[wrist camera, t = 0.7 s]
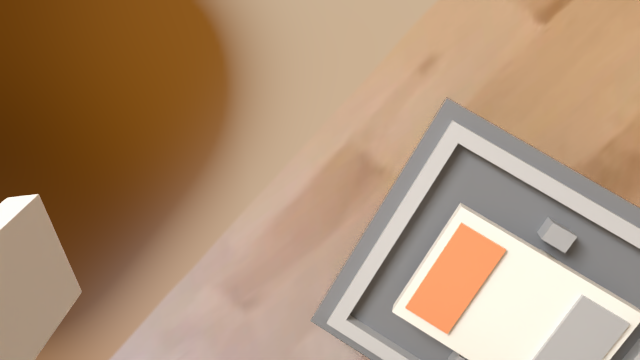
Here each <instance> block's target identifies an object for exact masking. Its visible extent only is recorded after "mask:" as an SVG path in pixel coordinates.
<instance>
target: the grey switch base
mask: <svg viewBox="0 0 640 360" xmlns="http://www.w3.org/2000/svg"><path fill="white" fill-rule="evenodd" d="M460 203H462V204H464V205H465V206H467V207H469V208H471V209H472V210H474V211H476V212H477V213H479V214H481V215H482V216H484V217H486V218H487V219H489V220H491V221H492V222H494V223H496V224H497V225H499V226H501V227H503V228H504V229H506V230H508V231H509V232H511V233H513V234H514V235H516V236H518V237H519V238H521V239H523V240H524V241H526V242H528V243H529V244H531V245H533V246H535V247H536V248H538V249H541V250H544V251H545V252H547V253H549V254H550V255H552V256H553V257H554V258H555V259H556V260H558V261H560V262H561V263H563V264H565V265H567V266H568V267H570V268H572V269H573V270H575V271H577V272H578V273H580V274H582V275H583V276H585V277H587V278H588V279H590V280H592V281H594V282H595V283H597V284H599V285H600V286H602V287H604V288H605V289H607V290H609V291H610V292H612V293H614V294H615V295H617V296H619V297H620V298H622V299H624V300H626V301H627V302H629V303H631V304H632V305H634V306H636V307H637V308H638V309H639V310H640V208H639V207H637V206H636V205H634V204H632V203H630V202H629V201H627V200H625V199H623V198H622V197H620V196H618V195H616V194H615V193H613V192H611V191H609V190H608V189H606V188H604V187H602V186H601V185H599V184H597V183H596V182H594V181H592V180H590V179H589V178H587V177H585V176H583V175H582V174H580V173H578V172H576V171H575V170H573V169H571V168H569V167H568V166H566V165H564V164H562V163H561V162H559V161H557V160H555V159H554V158H552V157H550V156H548V155H547V154H545V153H543V152H541V151H540V150H538V149H536V148H534V147H533V146H531V145H529V144H527V143H526V142H524V141H522V140H520V139H519V138H517V137H515V136H513V135H512V134H510V133H508V132H507V131H505V130H503V129H501V128H500V127H498V126H496V125H494V124H493V123H491V122H489V121H487V120H486V119H484V118H482V117H480V116H479V115H477V114H475V113H473V112H472V111H470V110H468V109H466V108H465V107H463V106H461V105H459V104H458V103H456V102H454V101H452V100H451V99H449V98H447V97H446V99H445V100H444V102H443V103H442V105H441V107H440V108H439V110H438V112H437V113H436V115H435V117H434V118H433V120H432V121H431V123H430V125H429V126H428V128H427V130H426V131H425V133H424V134H423V136H422V138H421V139H420V141H419V143H418V144H417V146H416V148H415V149H414V151H413V152H412V154H411V156H410V157H409V159H408V161H407V162H406V164H405V165H404V167H403V169H402V170H401V172H400V174H399V175H398V177H397V179H396V180H395V182H394V183H393V185H392V187H391V188H390V190H389V192H388V193H387V195H386V197H385V198H384V200H383V201H382V203H381V205H380V206H379V208H378V210H377V211H376V213H375V214H374V216H373V218H372V219H371V221H370V223H369V224H368V226H367V228H366V229H365V231H364V232H363V234H362V236H361V237H360V239H359V241H358V242H357V244H356V245H355V247H354V249H353V250H352V252H351V254H350V255H349V257H348V259H347V260H346V262H345V263H344V265H343V267H342V268H341V270H340V272H339V273H338V275H337V277H336V278H335V280H334V281H333V283H332V285H331V286H330V288H329V290H328V291H327V293H326V294H325V296H324V298H323V299H322V301H321V303H320V305H319V306H318V308H317V310H316V312H315V314H314V315H313V317H312V319H311V322H313V323H314V324H316V325H318V326H319V327H321V328H322V329H324V330H325V331H327V332H329V333H330V334H332V335H333V336H335V337H336V338H338V339H340V340H341V341H343V342H344V343H346V344H347V345H349V346H351V347H352V348H354V349H355V350H357V351H358V352H360V353H361V354H363V355H365V356H366V357H368V358H369V359H371V360H468V359H467V358H465V357H463V356H462V355H460V354H459V353H457V352H455V351H454V350H452V349H451V348H449V347H447V346H446V345H444V344H443V343H441V342H439V341H438V340H436V339H435V338H433V337H431V336H430V335H428V334H427V333H425V332H423V331H422V330H420V329H419V328H417V327H415V326H414V325H412V324H411V323H409V322H407V321H406V320H404V319H403V318H401V317H399V316H398V315H396V314H395V313H393V312H392V309H393V305H394V303H395V302H396V300H397V299H398V297H399V296H400V294H401V292H402V291H403V289H404V288H405V286H406V285H407V283H408V282H409V280H410V279H411V277H412V276H413V274H414V273H415V271H416V270H417V268H418V267H419V265H420V263H421V262H422V260H423V259H424V257H425V256H426V254H427V253H428V251H429V250H430V248H431V247H432V245H433V244H434V242H435V241H436V239H437V238H438V236H439V234H440V233H441V231H442V230H443V228H444V227H445V225H446V224H447V222H448V221H449V219H450V218H451V216H452V215H453V213H454V212H455V210H456V209H457V207H458V205H459V204H460ZM610 360H640V323H639V324H638V325H637V327H636V328H635V329H634V330H633V332H632V333H631V334H630V335H629V337H628V338H627V339H626V340H625V342H624V343H623V344H622V345H621V347H620V348H619V349H618V350H617V351H616V353H615V354H614V355H613V356H612V358H611V359H610Z"/></svg>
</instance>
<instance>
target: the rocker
mask: <svg viewBox="0 0 640 360" xmlns="http://www.w3.org/2000/svg"><path fill="white" fill-rule="evenodd" d="M392 312H393V313H395V314H396V315H398V316H399V317H401V318H403V319H404V320H406V321H407V322H409V323H411V324H412V325H414V326H415V327H417V328H419V329H420V330H422V331H423V332H425V333H427V334H428V335H430V336H431V337H433V338H435V339H436V340H438V341H439V342H441V343H443V344H444V345H446V346H447V347H449V348H451V349H452V350H454V351H455V352H457V353H459V354H460V355H462V356H463V357H465V358H467V359H468V360H610V359H611V358H612V356H613V355H614V354H615V353H616V351H617V350H618V349H619V348H620V347H621V345H622V344H623V343H624V342H625V340H626V339H627V338H628V337H629V335H630V334H631V333H632V332H633V330H634V329H635V328H636V327H637V325H638V324H639V323H640V310H639V309H638V308H637V307H636V306H634V305H632V304H631V303H629V302H627V301H626V300H624V299H622V298H620V297H619V296H617V295H615V294H614V293H612V292H610V291H609V290H607V289H605V288H604V287H602V286H600V285H599V284H597V283H595V282H594V281H592V280H590V279H588V278H587V277H585V276H583V275H582V274H580V273H578V272H577V271H575V270H573V269H572V268H570V267H568V266H567V265H565V264H563V263H561V262H560V261H558V260H556V259H555V258H554V257H553V256H552V255H550V254H549V253H547V252H545V251H544V250H541V249H538V248H536V247H535V246H533V245H531V244H529V243H528V242H526V241H524V240H523V239H521V238H519V237H518V236H516V235H514V234H513V233H511V232H509V231H508V230H506V229H504V228H503V227H501V226H499V225H497V224H496V223H494V222H492V221H491V220H489V219H487V218H486V217H484V216H482V215H481V214H479V213H477V212H476V211H474V210H472V209H471V208H469V207H467V206H465V205H464V204H462V203H460V204H459V205H458V207H457V209H456V210H455V212H454V213H453V215H452V216H451V218H450V219H449V221H448V222H447V224H446V225H445V227H444V228H443V230H442V231H441V233H440V234H439V236H438V238H437V239H436V241H435V242H434V244H433V245H432V247H431V248H430V250H429V251H428V253H427V254H426V256H425V257H424V259H423V260H422V262H421V263H420V265H419V267H418V268H417V270H416V271H415V273H414V274H413V276H412V277H411V279H410V280H409V282H408V283H407V285H406V286H405V288H404V289H403V291H402V292H401V294H400V296H399V297H398V299H397V300H396V302H395V303H394V305H393V309H392Z"/></svg>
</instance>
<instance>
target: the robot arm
mask: <svg viewBox="0 0 640 360" xmlns="http://www.w3.org/2000/svg"><path fill="white" fill-rule="evenodd" d="M81 292H82V291H81V289H80V287H79V285H78V282H77V280H76V278H75V276H74V273H73V271H72V269H71V266H70V264H69V262H68V260H67V257H66V255H65V253H64V251H63V248H62V246H61V244H60V242H59V239H58V237H57V235H56V232H55V230H54V228H53V226H52V223H51V221H50V219H49V216H48V214H47V212H46V210H45V207H44V205H43V203H42V201H41V198H40V196H39V194H36V195H27V196H18V197H10V198H7V199H5V200H4V201H3V202H2V203H1V204H0V360H35V358H36V357H37V355H38V354H39V353H40V351H41V350H42V348H43V347H44V345H45V344H46V343H47V341H48V340H49V338H50V337H51V335H52V334H53V332H54V331H55V330H56V328H57V327H58V325H59V324H60V322H61V321H62V320H63V318H64V317H65V315H66V314H67V312H68V311H69V310H70V308H71V306H72V305H73V304H74V302H75V301H76V300H77V298H78V297H79V295H80V294H81Z"/></svg>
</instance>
